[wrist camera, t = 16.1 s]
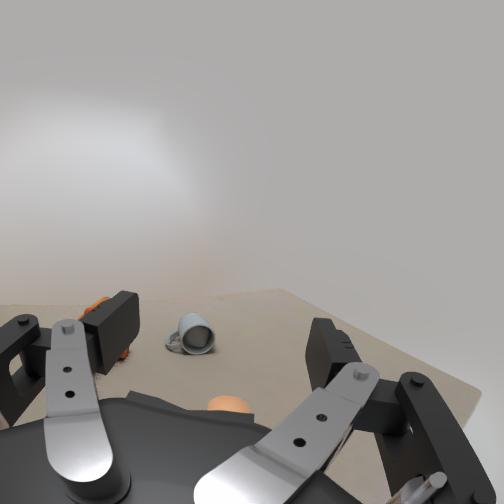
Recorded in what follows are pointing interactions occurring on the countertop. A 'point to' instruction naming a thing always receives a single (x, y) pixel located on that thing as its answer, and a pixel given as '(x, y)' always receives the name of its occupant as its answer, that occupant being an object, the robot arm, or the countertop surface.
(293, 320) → the countertop surface
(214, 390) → the countertop surface
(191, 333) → the ceramic mug
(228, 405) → the cylinder
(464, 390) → the countertop surface
